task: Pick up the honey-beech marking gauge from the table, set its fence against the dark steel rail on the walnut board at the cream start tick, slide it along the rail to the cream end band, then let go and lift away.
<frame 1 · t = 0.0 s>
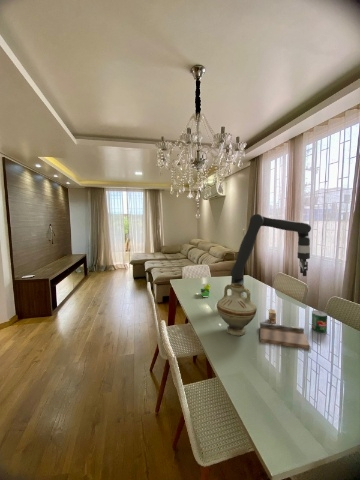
hand: (303, 274, 147), 29 cm above the table, fingers open, 8 cm apart
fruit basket: (205, 296, 194), on the table
canned tomato: (319, 330, 129), on the table
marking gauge: (272, 321, 142), on the table
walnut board: (282, 337, 122), on the table
amphora: (236, 331, 131), on the table
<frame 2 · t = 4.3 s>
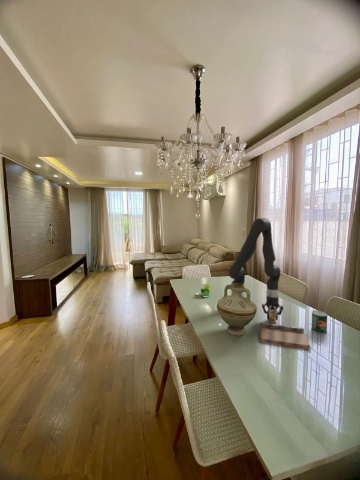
hand: (272, 319, 142), 1 cm above the table, fingers closed on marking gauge, 4 cm apart
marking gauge: (272, 321, 142), on the table, touching gripper
everything else where it was.
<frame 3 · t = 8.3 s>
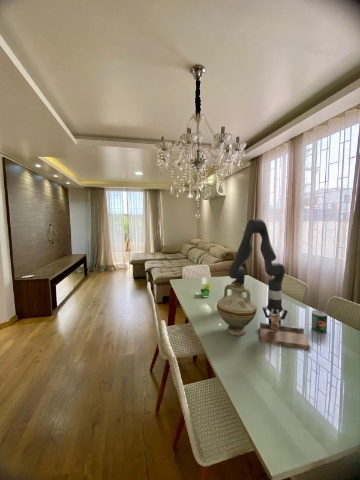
hand: (274, 324, 125), 6 cm above the table, fingers closed on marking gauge, 4 cm apart
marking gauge: (274, 326, 125), point 5 cm above the table, touching gripper
everything else where it was.
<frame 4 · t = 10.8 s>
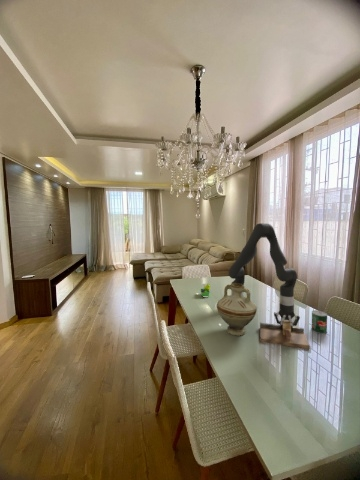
hand: (286, 330, 123), 3 cm above the table, fingers closed on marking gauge, 4 cm apart
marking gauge: (286, 332, 123), point 2 cm above the table, touching gripper
everything else where it was.
when the fingers open (3 cm above the table, at t = 12.5 s): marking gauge stays where it is, resting on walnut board.
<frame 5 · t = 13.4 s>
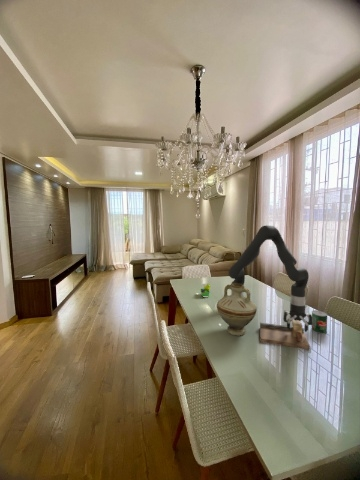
hand: (297, 329, 121), 5 cm above the table, fingers open, 8 cm apart
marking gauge: (297, 334, 121), point 2 cm above the table, touching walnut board
everything else where it was.
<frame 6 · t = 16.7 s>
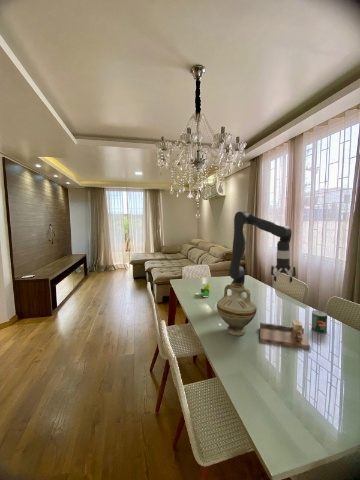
hand: (282, 281, 136), 28 cm above the table, fingers open, 8 cm apart
nothing on the table moved.
at the end: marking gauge 0.4 cm from the target spot on the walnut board, point 2.0 cm above the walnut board's base; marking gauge tilted 0°; the gripper is holding nothing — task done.
